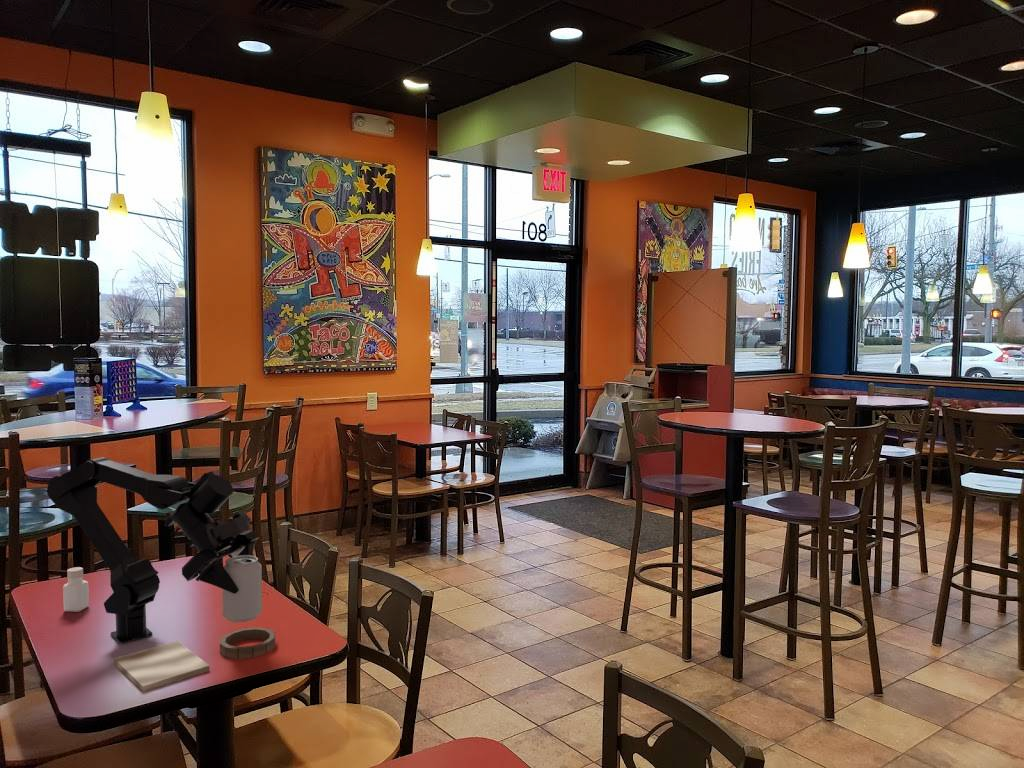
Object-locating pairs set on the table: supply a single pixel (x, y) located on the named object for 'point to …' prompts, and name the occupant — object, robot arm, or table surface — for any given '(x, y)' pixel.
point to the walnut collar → (247, 650)
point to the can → (243, 589)
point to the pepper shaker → (75, 591)
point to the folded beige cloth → (160, 665)
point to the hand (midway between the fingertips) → (248, 585)
